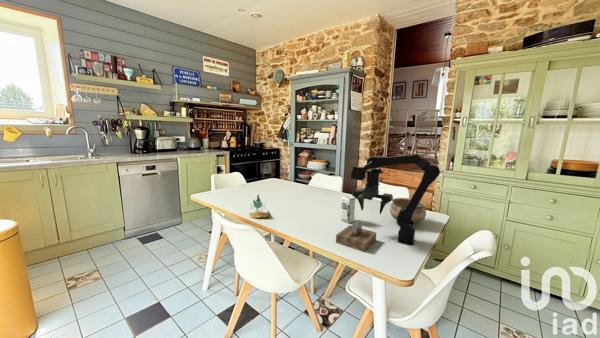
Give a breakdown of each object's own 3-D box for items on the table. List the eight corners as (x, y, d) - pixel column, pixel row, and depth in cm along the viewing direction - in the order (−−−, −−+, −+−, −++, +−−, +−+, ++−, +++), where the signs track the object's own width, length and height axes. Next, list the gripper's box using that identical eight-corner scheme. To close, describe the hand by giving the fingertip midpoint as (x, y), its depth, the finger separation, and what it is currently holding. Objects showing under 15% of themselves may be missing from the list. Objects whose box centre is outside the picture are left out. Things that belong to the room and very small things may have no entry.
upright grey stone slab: (361, 238, 116) (362, 222, 114) (356, 242, 111) (356, 226, 110) (356, 236, 117) (357, 221, 116) (351, 241, 112) (351, 225, 111)
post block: (375, 240, 115) (376, 232, 115) (364, 251, 105) (364, 243, 104) (349, 232, 124) (349, 225, 123) (335, 242, 113) (336, 234, 112)
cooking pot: (418, 234, 122) (421, 211, 120) (382, 225, 134) (383, 204, 132) (429, 220, 141) (431, 200, 139) (396, 213, 153) (397, 194, 151)
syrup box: (340, 220, 140) (341, 196, 138) (346, 218, 144) (347, 195, 141) (348, 223, 136) (349, 199, 133) (354, 221, 139) (355, 197, 137)
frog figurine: (264, 222, 137) (261, 197, 135) (243, 218, 148) (241, 195, 146) (275, 217, 145) (273, 193, 143) (255, 214, 156) (252, 191, 154)
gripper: (348, 182, 117) (347, 212, 119) (387, 187, 106) (385, 220, 109) (357, 178, 126) (356, 206, 128) (394, 182, 115) (392, 213, 117)
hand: (371, 211), depth 120 cm, fingers open, 9 cm apart
